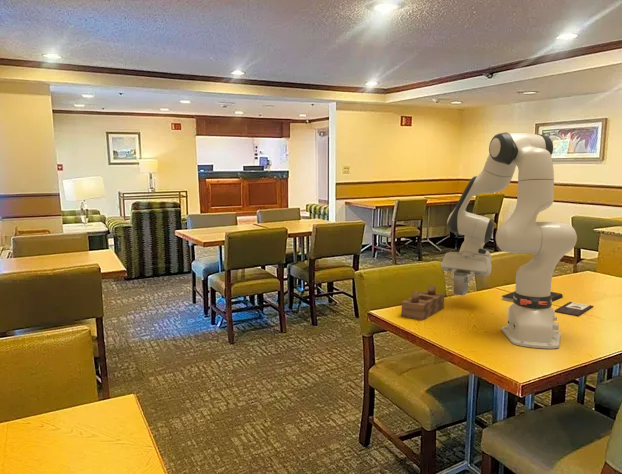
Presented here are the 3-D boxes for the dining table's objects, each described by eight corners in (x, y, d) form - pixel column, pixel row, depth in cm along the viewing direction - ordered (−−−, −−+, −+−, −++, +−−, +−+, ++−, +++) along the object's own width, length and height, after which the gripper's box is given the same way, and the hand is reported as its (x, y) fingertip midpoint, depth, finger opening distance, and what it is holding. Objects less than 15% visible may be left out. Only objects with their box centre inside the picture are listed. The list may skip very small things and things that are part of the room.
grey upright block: (463, 295, 191) (464, 274, 190) (453, 294, 194) (454, 272, 193) (468, 293, 195) (468, 271, 194) (458, 291, 198) (458, 270, 197)
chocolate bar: (553, 310, 188) (569, 301, 201) (553, 313, 189) (569, 303, 201) (578, 315, 182) (593, 305, 194) (578, 317, 182) (593, 308, 194)
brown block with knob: (422, 320, 180) (423, 295, 178) (401, 316, 185) (401, 291, 184) (444, 308, 195) (444, 284, 194) (423, 304, 201) (424, 281, 199)
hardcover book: (501, 300, 207) (501, 295, 207) (527, 292, 222) (527, 287, 221) (537, 308, 195) (537, 303, 195) (562, 298, 209) (562, 293, 209)
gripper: (444, 246, 204) (434, 273, 198) (492, 251, 191) (483, 279, 185) (448, 255, 208) (438, 281, 202) (495, 260, 195) (487, 288, 189)
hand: (460, 280), depth 193 cm, fingers closed on grey upright block, 4 cm apart
